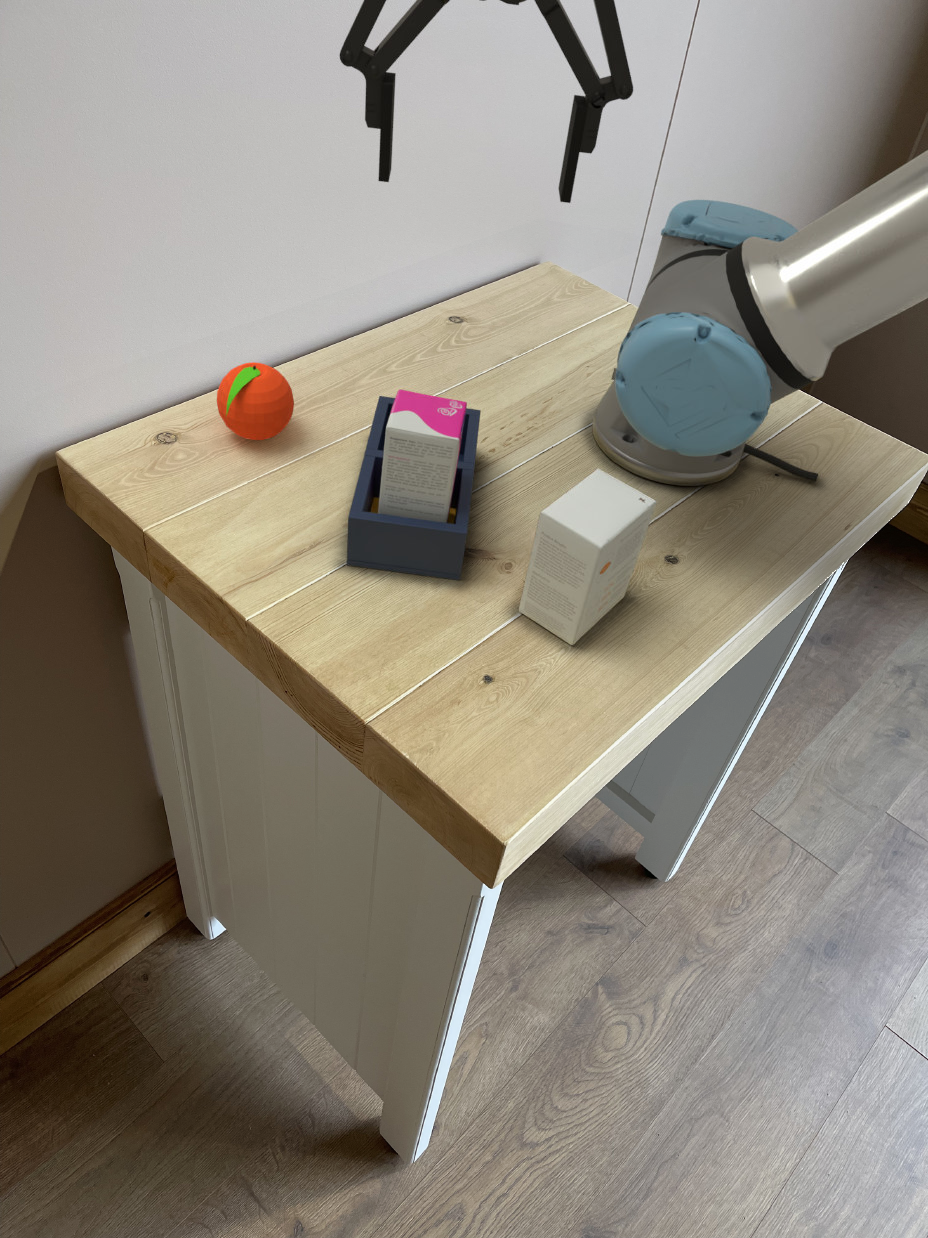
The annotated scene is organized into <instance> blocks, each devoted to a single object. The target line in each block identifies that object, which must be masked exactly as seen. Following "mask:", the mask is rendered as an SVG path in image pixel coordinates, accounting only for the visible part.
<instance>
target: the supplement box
mask: <svg viewBox="0 0 928 1238" xmlns="http://www.w3.org/2000/svg"><path fill="white" fill-rule="evenodd" d="M394 398H395V400H394V403H393V406H392V410H391V413H390V416H389V419H388V423H387V426H386V435H385V445H384V456H383V466H382V477H381V488H380V498H379V509H378V514H386V515H393V516H400V517H407V518H414V519H422V520H429V521H436V522H443V523H447V520H448V515H449V512H450V505H451V499H452V494H453V487H454V481H455V475H456V469H457V463H458V457H459V451H460V445H461V439H462V432H463V426H464V420H465V414H466V408H468V403H467V401H464V400H458V399H452V398H446V397H443V396H442V397H441V396H436V395H435V396H434V395H431V394H426V393H420V392H415V391H410V390H409V391H408V390H407V389H398V390H397V392H396V395H395V397H394Z"/></svg>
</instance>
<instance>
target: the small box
mask: <svg viewBox="0 0 928 1238" xmlns="http://www.w3.org/2000/svg"><path fill="white" fill-rule="evenodd" d="M657 504H658V503H657V500H655V499H653V498H652V497H650V496H648V495H647V494H645V493H643V492H641V491H639V490H638V489H637V488H634V487H632V486H630V485H629V484H627V483H626V482H623V481H621V480H620V479H618V478H616V477H615V476H612V475H611V474H609V473H608V472H606V471H603V470H601V469H600V468H596V469H595V470H594V471H593V472H591V473H590V474H588V475H587V476H586V477H584V478H583V479H582V480H580V481H579V482H578V483H576V484H575V485H574V486H572V487H571V488H570V489H569V490H567V491H566V492H565V493H564V494H562V495H561V496H560V497H558V498H557V499H556V500H554V501H553V502H551V503H550V504H549V505H548V506H546V507H545V508H543V510H541V511H539V516H538V520H537V525H536V529H535V530H536V531H535V534H534V539H533V542H532V543H533V544H532V548H531V552H530V557H529V561H528V566H527V570H526V574H525V579H524V584H523V589H522V594H521V597H520V602H519V606H518V612H519V613H521V614H523V615H524V616H526V617H527V618H528V619H530V620H532V621H533V622H535V623H537V624H538V625H540V626H541V627H543V629H546V631H549V632H550V633H552V634H554V636H556V637H558V638H559V639H561V640H562V641H564V642H566V643H567V644H569V645H570V646H574V645H575V644H576V643H578V641H579V640H580V639H581V638H582V637H583V636H584V635H586V634H587V632H588V631H589V630H591V628H593V627H594V626H595V625H596V624H597V623H598V622H599V621H601V619H602V618H603V617H605V615H607V613H609V612H610V611H611V610H612V609H613V608H614V607H615V606H616V605H617V604H618V603H619V602H620V601H621V600H622V599H624V597H625V596H626V593H627V591H628V588H629V584H630V582H631V579H632V576H633V573H634V571H635V567H636V564H637V561H638V558H639V556H640V553H641V549H642V548H643V544H644V541H645V538H646V535H647V533H648V529H649V526H650V523H651V520H652V517H653V515H654V512H655V508H656V505H657Z"/></svg>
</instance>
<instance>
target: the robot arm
mask: <svg viewBox="0 0 928 1238" xmlns="http://www.w3.org/2000/svg"><path fill="white" fill-rule="evenodd" d="M450 1H451V0H415V1H414V3H413V4H412V5H411V6H410V8H408V10H407V11H405V13H404V14H403V16H401V18H400V19H399V20H398V21H397V23H396V24H395V25H394V26H393V27H392V29H391V30H389V32H388V33H387V34H386V35H385V37H384V38H383V39H382V40H381V41H380V43H379V44H378V45H377V46H376V47H375V48H374V49H371V48H369V47H368V46H366V43H367V41H368V39H369V37H370V35H371V33H372V32H373V29H374V26H375V24H376V23H377V20H378V18H379V17H380V14H381V12H382V10H383V8H384V6H385V5H386V2H387V0H363V1H362V3H361V5H360V7H359V10H358V12H357V14H356V16H355V18H354V20H353V22H352V24H351V27H350V29H349V31H348V32H347V35H346V37H345V39H344V41H343V44H342V46H341V49H340V51H339V60H340V62H341V64H342V65H343V66H345V67H349V68H350V67H352V68H353V69H355V70H357V71H358V72H360V73H361V74H362V76H363V77H364V79H365V100H364V101H365V105H364V106H365V107H364V121H365V124H366V127H367V128H369V129H378V130H380V131H379V155H378V157H379V158H378V179H377V180H378V182H382V183H383V182H384V183H390V178H391V172H392V163H393V162H392V161H393V139H394V121H395V116H394V114H395V99H396V98H395V95H396V76H397V75H396V72H389V70H390V68H391V67H392V66H393V65H394V63H396V61H397V60H398V59H399V58H400V57H401V56H402V54H403V53H404V52H405V51H406V50H407V49H408V48H409V46H410V45H411V44H412V43H413V42H414V41H415V40H416V38H417V37H418V36H419V35H420V34H421V32H423V30H424V29H425V28H426V27H427V26H428V25H429V23H430V22H431V21H432V20H433V19H434V18H435V17H436V15H438V14H439V12H440V11H441V10H442V9H443V7H445V5H447V4H448V3H449V2H450ZM481 1H483V2H484V1H486V0H480V2H481ZM499 1H500V2H502V3H505V4H506V5H514V6H520V3H524V2H526V1H527V0H499ZM534 3H535V4H536V7H537V8H538V10H539V12H540V14H541V16H542V17H543V18H544V21H545V22H546V24H547V26H548V27H549V29H550V31H551V34H552V35H553V37H554V39H555V41H556V43H557V44H558V46H559V48H560V51H561V53H562V54H563V56H564V58H565V59H566V62H567V63H568V65H569V67H570V69H571V71H572V72H573V74H574V77H575V78H576V80H577V82H578V84H579V86H580V88H581V90H582V91H583V93H584V95H579V94H574V95H573V100H572V105H571V106H572V107H571V112H570V117H569V118H570V119H569V123H568V129H567V130H568V131H567V137H566V141H565V148H564V153H563V158H562V159H563V160H562V165H561V170H560V171H561V172H560V177H559V183H558V195H559V202H560V203H567V204H568V203H569V204H570V203H572V202H571V201H572V196H573V190H574V184H575V180H576V173H577V168H578V163H579V158H580V153H584V154H592V153H593V152H594V150H595V148H596V144H597V140H598V136H599V130H600V125H601V119H602V114H603V110H604V108H605V107H606V106H607V104H609V103H610V102H613V101H617V100H621V101H624V100H625V101H626V100H628V99H630V98H631V97H632V96H633V93H634V85H633V80H632V75H631V71H630V70H631V69H630V66H629V62H628V56H627V52H626V48H625V43H624V39H623V34H622V29H621V25H620V21H619V17H618V16H619V15H618V12H617V7H616V3H615V0H593V5H594V10H595V14H596V17H597V23H598V26H599V30H600V35H601V38H602V42H603V47H604V51H605V56H606V61H607V64H608V70H609V72H610V75H607V76H604V77H600V75H599V74H598V72H597V70H596V68H595V66H594V64H593V62H592V60H591V58H590V56H589V54H588V52H587V50H586V48H585V47H584V45H583V42H582V41H581V38H580V37H579V35H578V33H577V31H576V29H575V27H574V25H573V23H572V21H571V19H570V17H569V16H568V14H567V11H566V10H565V8H564V6H563V4H562V2H561V0H534ZM660 236H661V240H660V244H659V247H658V250H657V254H656V257H655V262H654V264H653V268H652V271H651V274H650V277H649V280H648V282H647V285H646V288H645V291H644V293H643V295H642V297H641V300H640V302H639V305H638V307H637V310H636V312H635V314H634V317H633V319H632V321H631V324H630V326H629V328H628V330H627V333H626V335H625V337H624V338H623V341H622V342H621V343H620V346H619V350H618V353H617V360H616V364H617V365H616V367H614V368H613V371H612V375H611V379H610V380H611V381H612V382H611V384H610V385H609V387H608V389H607V390H606V391H605V393H604V394H603V395H602V398H601V399H600V401H599V403H598V405H597V407H596V410H595V413H594V417H593V418H594V419H593V421H592V427H591V428H592V435H593V438H594V440H595V442H596V444H597V445H598V447H599V448H600V450H601V451H602V452H603V453H604V454H605V455H606V456H607V457H608V458H609V459H611V461H613V462H614V463H616V464H617V465H618V466H620V467H621V468H623V469H625V470H627V471H628V472H631V473H632V474H634V475H637V476H639V477H642V478H644V479H648V480H651V481H655V482H657V483H661V484H666V485H672V486H673V485H674V486H685V487H686V486H687V487H696V486H705V485H711V484H715V483H718V482H720V481H722V480H724V479H726V478H728V477H730V476H731V475H732V474H733V473H734V472H735V471H736V470H737V468H738V467H739V465H740V462H741V459H742V457H743V454H744V453H745V454H747V455H750V456H752V457H754V458H757V459H759V460H761V461H763V462H765V463H767V464H771V465H772V466H775V467H776V468H778V469H781V470H782V471H784V472H787V473H788V474H790V475H793V476H795V477H798V478H800V479H804V480H807V481H811V482H816V483H817V480H818V478H819V473H817V472H813V471H809V470H805V469H803V468H800V467H797V466H796V465H793V464H792V463H789V462H787V461H785V460H783V459H781V458H779V457H777V456H775V455H772V454H771V453H768V452H766V451H765V450H761V449H759V448H757V447H754V446H752V445H749V444H747V443H746V442H747V440H749V439H750V438H751V437H752V436H753V435H754V434H755V433H756V432H757V430H758V429H759V428H760V426H761V425H762V424H763V423H764V421H765V419H766V417H767V416H768V414H769V410H770V407H771V405H773V404H774V403H775V402H777V401H779V400H781V399H784V398H786V397H788V396H789V395H791V394H793V393H796V392H797V391H799V390H801V389H803V388H804V387H806V386H808V385H811V384H813V383H815V382H816V381H819V379H822V378H823V377H824V375H825V373H826V370H827V367H828V364H829V363H830V359H831V356H832V355H833V352H834V351H835V350H836V348H837V347H838V346H841V345H842V344H844V343H846V342H848V341H850V340H852V339H853V338H855V337H858V336H859V335H861V334H863V333H864V332H867V331H869V330H870V329H872V328H874V327H876V326H877V325H880V324H882V323H884V322H885V321H887V320H889V319H891V318H893V317H895V316H896V315H899V314H901V313H902V312H904V311H906V310H908V309H909V308H912V307H914V306H915V305H917V304H919V303H921V302H923V301H925V300H927V299H928V149H927V150H925V151H924V152H922V153H921V154H919V155H917V156H916V157H914V158H913V159H911V160H909V161H908V162H907V163H905V164H903V165H901V166H900V167H898V168H897V169H895V170H893V171H892V172H890V173H888V174H887V175H885V176H884V177H882V178H880V179H879V180H877V181H875V183H872V184H871V185H870V186H868V187H866V188H865V189H863V190H862V191H860V192H858V193H857V194H855V195H854V196H852V197H850V198H848V199H847V200H846V201H844V202H843V203H841V204H839V205H838V206H836V207H835V208H832V209H831V210H830V211H828V212H826V213H825V214H824V215H822V216H820V217H819V218H817V219H816V220H814V221H813V222H811V223H809V224H807V225H806V226H805V227H802V228H801V229H800V230H798V229H797V227H795V226H794V225H792V224H791V223H789V222H788V221H787V220H785V219H782V218H780V217H778V216H777V215H773V214H771V213H768V212H765V211H762V210H760V209H756V208H753V207H750V206H745V205H741V204H737V203H732V202H727V201H720V200H711V199H691V200H685V201H681V202H679V203H677V204H676V205H675V206H673V208H671V210H670V211H669V213H668V216H667V219H666V222H665V225H664V227H663V228H662V229H661V231H660Z"/></svg>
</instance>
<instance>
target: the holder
mask: <svg viewBox="0 0 928 1238" xmlns="http://www.w3.org/2000/svg"><path fill="white" fill-rule="evenodd" d="M394 400H395V397H392V396H384V395H379V396H378V400H377V405H376V408H375V411H374V415H373V419H372V423H371V427H370V430H369V434H368V439H367V443H366V446H365V450H364V454H363V455H364V456H363V459H362V462H361V466H360V471H359V474H358V478H357V481H356V484H355V485H356V486H355V490H354V493H353V497H352V501H351V505H350V509H349V513H348V516H347V540H346V544H347V545H346V566H352V567H359V568H366V569H373V570H380V571H381V570H382V571H389V572H396V573H402V574H403V573H404V574H410V575H417V576H425V577H431V578H438V579H439V578H440V579H447V580H452V581H453V580H455V581H461V576H462V569H463V562H464V556H465V551H466V543H467V538H468V532H469V531H468V530H469V521H470V512H471V511H470V510H471V503H472V494H473V485H474V475H475V467H476V458H477V449H478V440H479V439H478V438H479V432H480V431H479V428H480V421H481V410H480V409H475V408H468V407H467V408H466V414H465V420H464V426H463V432H462V439H461V445H460V451H459V457H458V463H457V469H456V475H455V481H454V487H453V494H452V499H451V505H450V512H449V515H448V520H447V523H443V522H436V521H429V520H422V519H414V518H407V517H400V516H393V515H386V514H378V509H379V498H380V488H381V477H382V466H383V456H384V445H385V435H386V426H387V423H388V419H389V416H390V413H391V410H392V406H393V403H394Z"/></svg>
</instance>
